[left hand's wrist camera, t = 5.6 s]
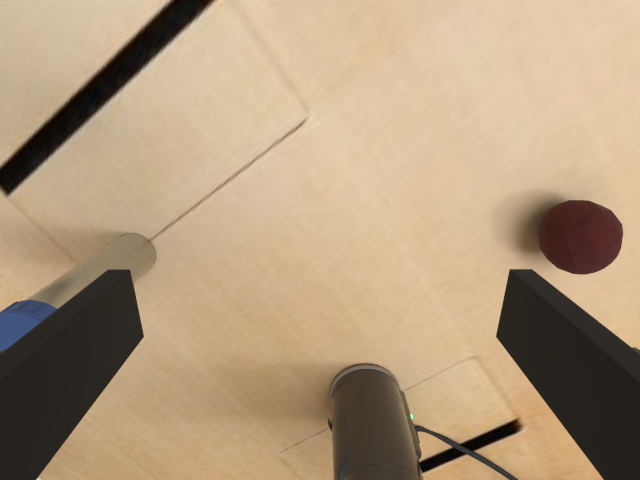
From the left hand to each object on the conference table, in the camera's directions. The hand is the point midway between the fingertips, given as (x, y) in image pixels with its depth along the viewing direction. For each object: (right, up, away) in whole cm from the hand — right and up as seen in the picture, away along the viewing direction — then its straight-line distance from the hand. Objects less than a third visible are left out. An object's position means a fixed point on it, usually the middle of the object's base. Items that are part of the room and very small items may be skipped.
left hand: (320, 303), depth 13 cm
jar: (-22, +1, +30) cm, 37 cm away
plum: (+27, +4, +28) cm, 39 cm away
